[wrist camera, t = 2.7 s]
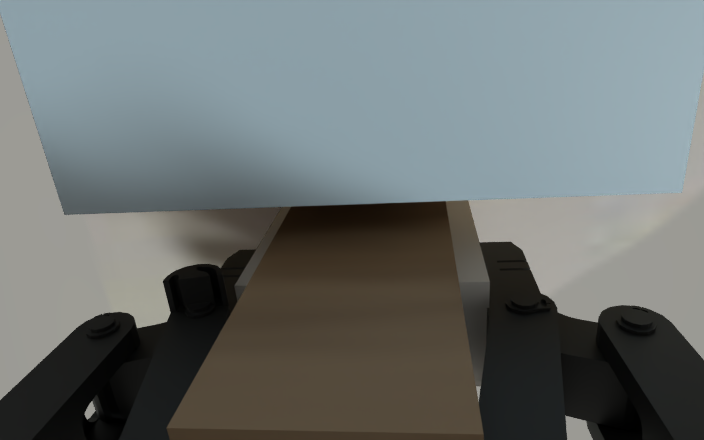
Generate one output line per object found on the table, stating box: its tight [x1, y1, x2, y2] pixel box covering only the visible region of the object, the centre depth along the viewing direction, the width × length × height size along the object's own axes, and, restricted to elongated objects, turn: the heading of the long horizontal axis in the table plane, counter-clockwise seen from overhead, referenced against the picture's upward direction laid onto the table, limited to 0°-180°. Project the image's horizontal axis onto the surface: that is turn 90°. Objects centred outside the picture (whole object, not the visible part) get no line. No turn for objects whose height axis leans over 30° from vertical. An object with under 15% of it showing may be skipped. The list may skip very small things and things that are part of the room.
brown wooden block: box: [167, 201, 484, 440], centre depth 13 cm, size 4×4×12 cm
